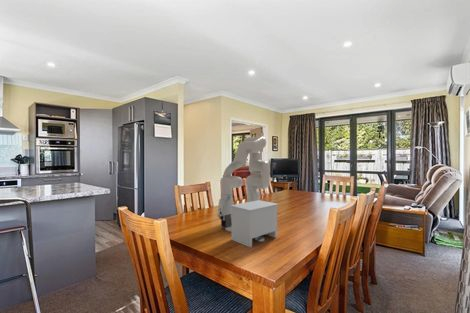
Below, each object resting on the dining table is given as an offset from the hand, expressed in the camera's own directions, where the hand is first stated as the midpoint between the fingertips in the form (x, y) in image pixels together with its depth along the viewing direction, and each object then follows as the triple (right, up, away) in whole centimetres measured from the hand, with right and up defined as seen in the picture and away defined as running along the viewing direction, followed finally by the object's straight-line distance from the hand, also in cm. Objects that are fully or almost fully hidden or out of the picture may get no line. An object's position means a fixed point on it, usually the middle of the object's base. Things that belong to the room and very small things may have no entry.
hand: (226, 225), depth 147 cm
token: (+19, -2, -21) cm, 29 cm away
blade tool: (+7, -2, -7) cm, 10 cm away
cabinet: (+16, -2, -18) cm, 25 cm away
